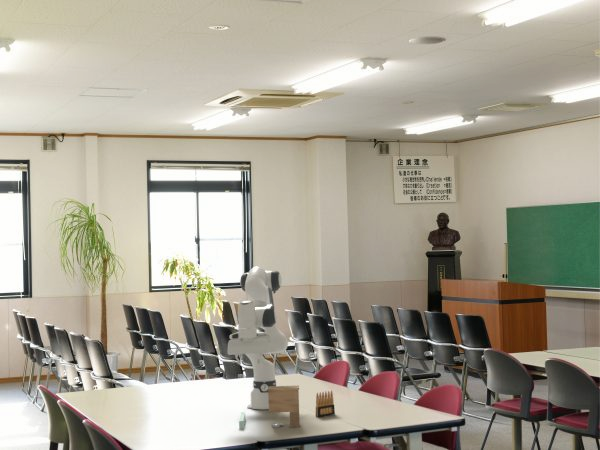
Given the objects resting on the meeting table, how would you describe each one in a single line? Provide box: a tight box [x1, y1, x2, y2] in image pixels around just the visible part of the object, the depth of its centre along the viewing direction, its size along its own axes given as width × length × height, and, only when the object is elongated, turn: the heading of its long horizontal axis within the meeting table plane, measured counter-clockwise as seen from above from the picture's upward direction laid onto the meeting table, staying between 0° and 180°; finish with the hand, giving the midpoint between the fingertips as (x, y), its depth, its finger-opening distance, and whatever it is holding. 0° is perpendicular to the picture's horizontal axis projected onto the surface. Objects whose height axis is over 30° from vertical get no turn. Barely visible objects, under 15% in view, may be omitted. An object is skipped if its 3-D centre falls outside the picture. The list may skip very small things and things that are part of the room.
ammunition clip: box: [315, 390, 336, 419], centre depth 440 cm, size 11×2×12 cm, turn 127°
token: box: [271, 422, 283, 428], centre depth 418 cm, size 5×5×1 cm
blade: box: [238, 411, 246, 430], centre depth 425 cm, size 22×2×4 cm, turn 1°
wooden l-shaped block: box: [268, 385, 301, 428], centre depth 419 cm, size 7×15×18 cm, turn 91°
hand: (249, 363), depth 429 cm, fingers open, 8 cm apart
